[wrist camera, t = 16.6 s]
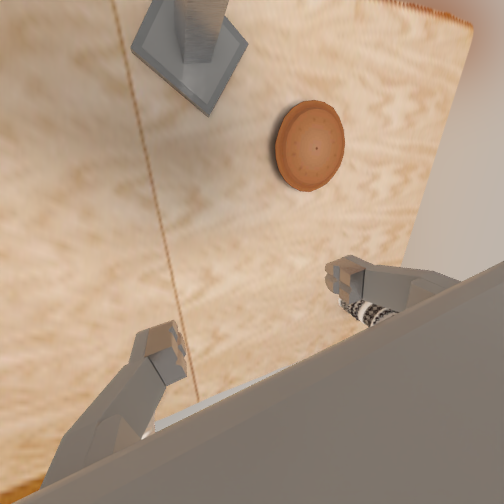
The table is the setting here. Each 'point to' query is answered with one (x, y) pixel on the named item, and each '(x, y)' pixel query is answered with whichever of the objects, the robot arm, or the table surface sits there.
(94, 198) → the table surface
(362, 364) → the robot arm
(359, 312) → the decorative candle
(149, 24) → the rest tile
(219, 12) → the knob-topped square pillar
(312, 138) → the pie
